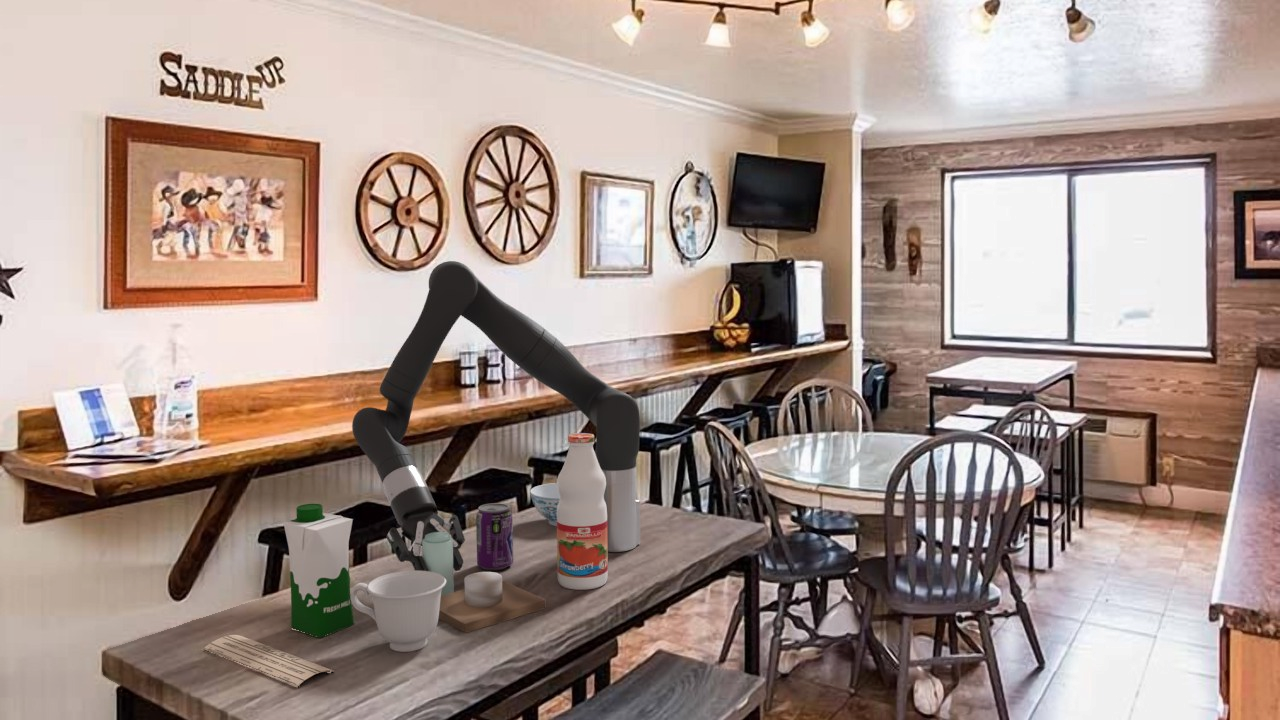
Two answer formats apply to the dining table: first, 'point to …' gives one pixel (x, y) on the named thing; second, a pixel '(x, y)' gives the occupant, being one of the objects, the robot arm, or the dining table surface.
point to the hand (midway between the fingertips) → (442, 572)
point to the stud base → (487, 614)
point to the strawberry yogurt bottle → (581, 517)
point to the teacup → (403, 606)
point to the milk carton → (319, 571)
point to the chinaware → (546, 501)
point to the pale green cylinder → (440, 557)
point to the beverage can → (494, 536)
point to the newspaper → (265, 658)
